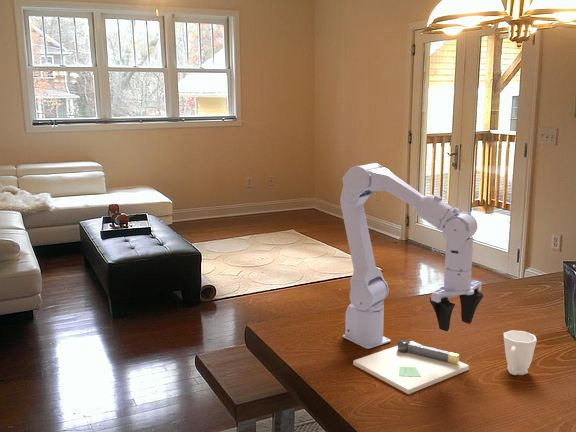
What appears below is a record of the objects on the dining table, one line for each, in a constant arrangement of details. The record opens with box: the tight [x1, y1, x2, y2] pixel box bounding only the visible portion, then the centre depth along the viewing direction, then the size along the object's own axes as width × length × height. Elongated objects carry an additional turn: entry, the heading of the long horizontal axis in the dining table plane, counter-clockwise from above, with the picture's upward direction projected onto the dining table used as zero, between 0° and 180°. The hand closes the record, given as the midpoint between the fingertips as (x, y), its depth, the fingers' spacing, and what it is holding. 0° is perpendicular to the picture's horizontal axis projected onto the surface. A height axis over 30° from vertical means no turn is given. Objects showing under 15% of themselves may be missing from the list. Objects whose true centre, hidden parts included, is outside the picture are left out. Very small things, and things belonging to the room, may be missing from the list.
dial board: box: [352, 340, 470, 395], centre depth 130 cm, size 17×19×1 cm
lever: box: [397, 339, 460, 365], centre depth 133 cm, size 14×3×2 cm, turn 55°
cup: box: [503, 329, 538, 376], centre depth 126 cm, size 7×10×8 cm
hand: (455, 326), depth 131 cm, fingers open, 7 cm apart
